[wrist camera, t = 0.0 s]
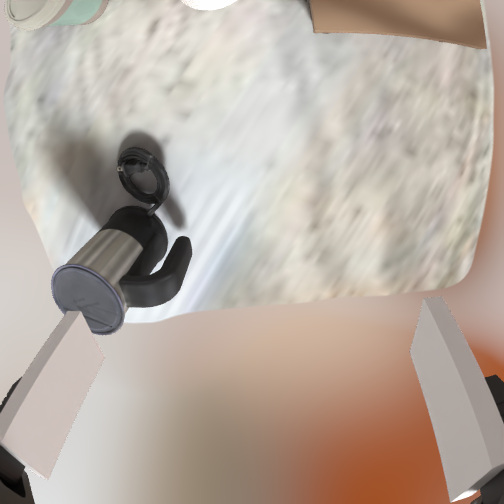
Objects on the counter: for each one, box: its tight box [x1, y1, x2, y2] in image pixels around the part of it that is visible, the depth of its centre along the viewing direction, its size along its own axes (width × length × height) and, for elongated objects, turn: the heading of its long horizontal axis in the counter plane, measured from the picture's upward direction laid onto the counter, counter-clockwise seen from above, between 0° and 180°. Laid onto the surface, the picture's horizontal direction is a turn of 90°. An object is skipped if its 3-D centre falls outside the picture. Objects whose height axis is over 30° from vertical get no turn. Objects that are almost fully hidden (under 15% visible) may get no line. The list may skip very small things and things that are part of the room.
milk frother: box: [51, 147, 192, 335], centre depth 34 cm, size 14×16×15 cm
